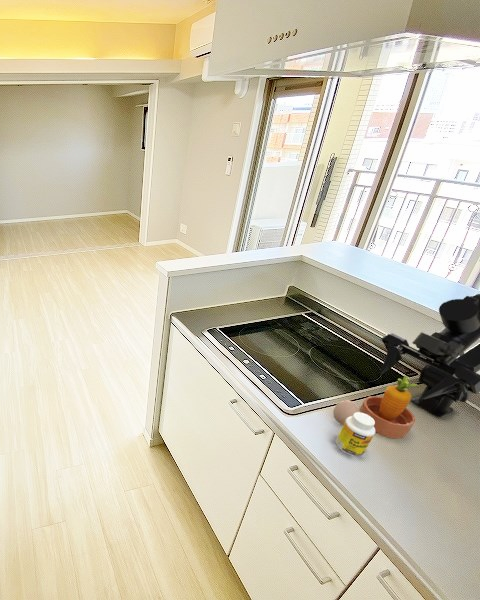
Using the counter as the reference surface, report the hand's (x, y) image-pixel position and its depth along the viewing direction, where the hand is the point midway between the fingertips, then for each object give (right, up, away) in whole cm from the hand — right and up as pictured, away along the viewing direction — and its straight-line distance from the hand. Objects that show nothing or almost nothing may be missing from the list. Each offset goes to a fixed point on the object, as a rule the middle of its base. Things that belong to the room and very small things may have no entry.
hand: (400, 385), depth 80 cm
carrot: (+1, -12, +6) cm, 13 cm away
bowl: (+1, -12, +6) cm, 14 cm away
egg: (-9, -12, +7) cm, 17 cm away
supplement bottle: (-12, -16, +1) cm, 20 cm away
